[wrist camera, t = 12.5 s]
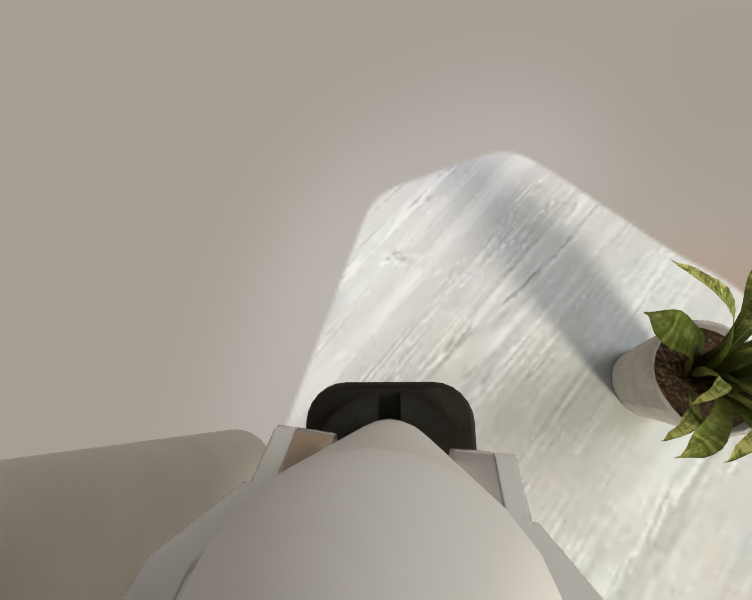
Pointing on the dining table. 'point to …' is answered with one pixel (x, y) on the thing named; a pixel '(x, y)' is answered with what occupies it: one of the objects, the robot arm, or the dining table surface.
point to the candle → (376, 513)
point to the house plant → (694, 375)
